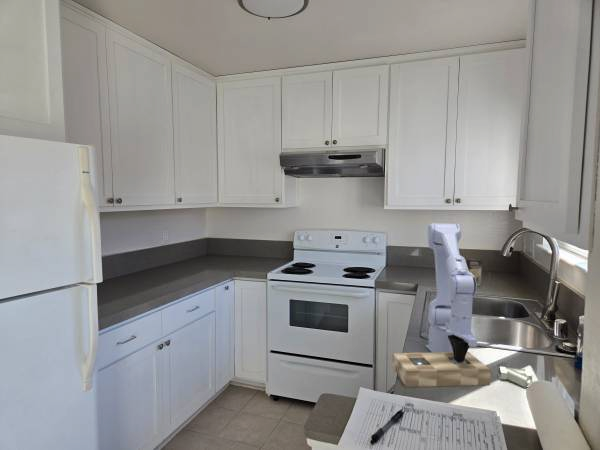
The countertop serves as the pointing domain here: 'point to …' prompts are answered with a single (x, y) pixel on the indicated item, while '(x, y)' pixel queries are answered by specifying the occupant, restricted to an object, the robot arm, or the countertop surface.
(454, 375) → the socket block
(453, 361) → the peg
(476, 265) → the coffee box
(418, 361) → the peg
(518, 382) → the pipe fitting
